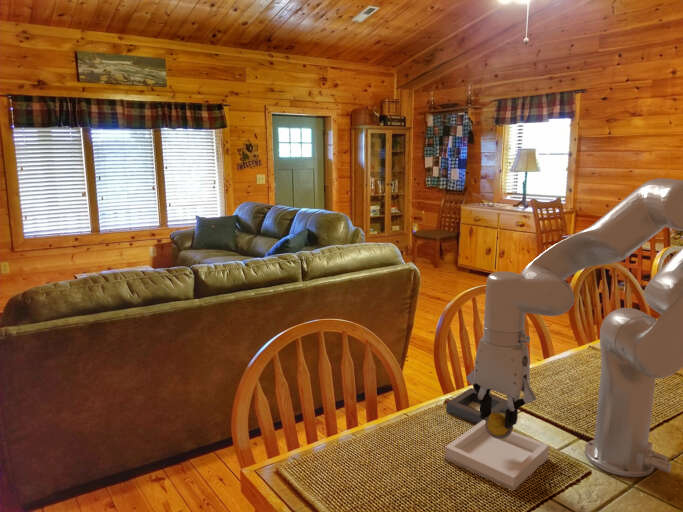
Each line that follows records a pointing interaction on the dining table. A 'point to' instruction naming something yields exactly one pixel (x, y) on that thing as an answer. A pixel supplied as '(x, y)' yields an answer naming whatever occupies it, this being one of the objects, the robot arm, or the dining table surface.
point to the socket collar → (462, 411)
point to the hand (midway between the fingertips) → (497, 420)
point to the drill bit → (497, 425)
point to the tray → (497, 455)
